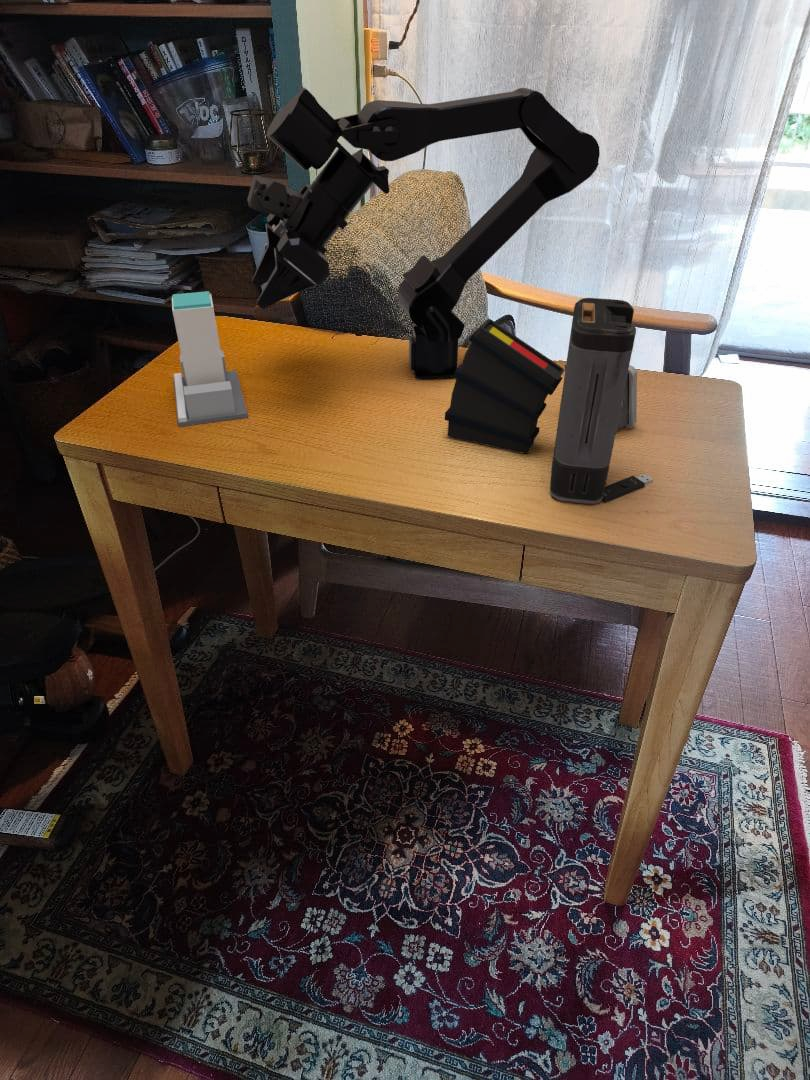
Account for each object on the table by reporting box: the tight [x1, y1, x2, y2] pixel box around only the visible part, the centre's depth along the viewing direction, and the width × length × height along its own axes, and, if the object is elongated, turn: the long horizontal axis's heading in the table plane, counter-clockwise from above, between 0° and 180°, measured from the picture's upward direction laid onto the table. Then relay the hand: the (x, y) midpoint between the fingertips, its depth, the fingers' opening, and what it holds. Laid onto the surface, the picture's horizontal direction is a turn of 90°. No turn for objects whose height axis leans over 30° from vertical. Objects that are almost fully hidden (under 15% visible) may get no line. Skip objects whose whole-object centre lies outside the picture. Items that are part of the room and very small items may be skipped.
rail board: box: [173, 349, 249, 428], centre depth 100 cm, size 9×14×4 cm, turn 16°
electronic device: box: [549, 297, 637, 505], centre depth 79 cm, size 9×6×20 cm, turn 168°
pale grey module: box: [171, 290, 225, 386], centre depth 97 cm, size 5×5×13 cm
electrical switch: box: [563, 364, 638, 432], centre depth 94 cm, size 9×5×9 cm, turn 38°
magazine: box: [444, 318, 565, 454], centre depth 89 cm, size 4×13×15 cm, turn 66°
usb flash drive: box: [600, 473, 654, 504], centre depth 84 cm, size 8×2×1 cm, turn 121°
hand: (257, 295), depth 96 cm, fingers open, 9 cm apart
